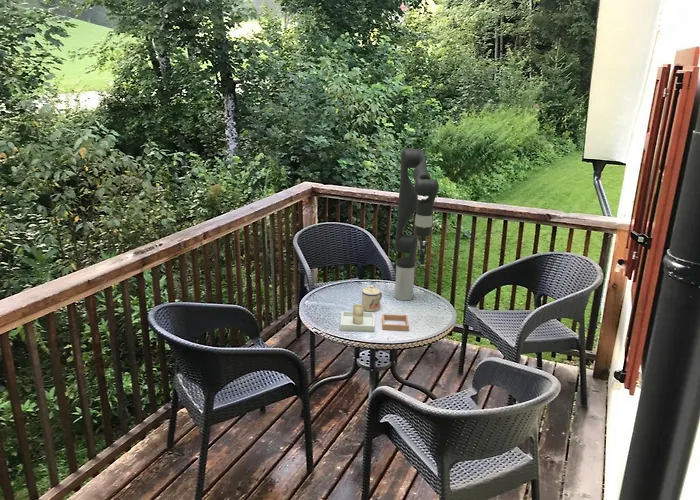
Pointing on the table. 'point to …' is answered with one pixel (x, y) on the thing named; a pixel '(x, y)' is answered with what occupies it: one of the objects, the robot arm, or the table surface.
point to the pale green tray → (348, 324)
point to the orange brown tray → (393, 326)
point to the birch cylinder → (358, 314)
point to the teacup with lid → (371, 298)
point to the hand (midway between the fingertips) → (420, 259)
